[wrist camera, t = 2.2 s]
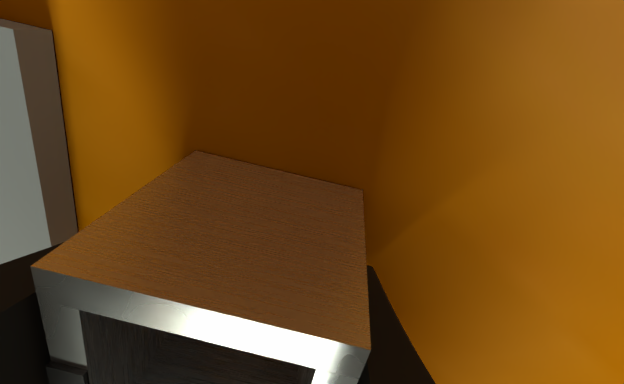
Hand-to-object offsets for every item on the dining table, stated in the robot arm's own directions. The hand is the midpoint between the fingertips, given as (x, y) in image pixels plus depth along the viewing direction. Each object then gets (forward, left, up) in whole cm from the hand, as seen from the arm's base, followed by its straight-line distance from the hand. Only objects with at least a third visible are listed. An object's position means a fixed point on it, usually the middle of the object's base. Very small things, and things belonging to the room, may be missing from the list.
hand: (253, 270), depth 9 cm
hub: (0, 0, -1) cm, 1 cm away
